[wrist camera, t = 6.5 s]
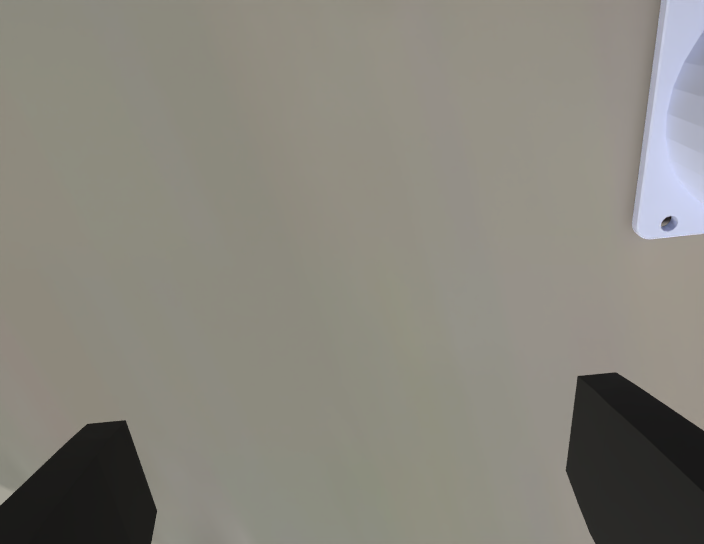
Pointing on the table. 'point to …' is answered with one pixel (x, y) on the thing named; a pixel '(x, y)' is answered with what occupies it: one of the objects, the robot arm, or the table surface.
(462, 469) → the table surface
